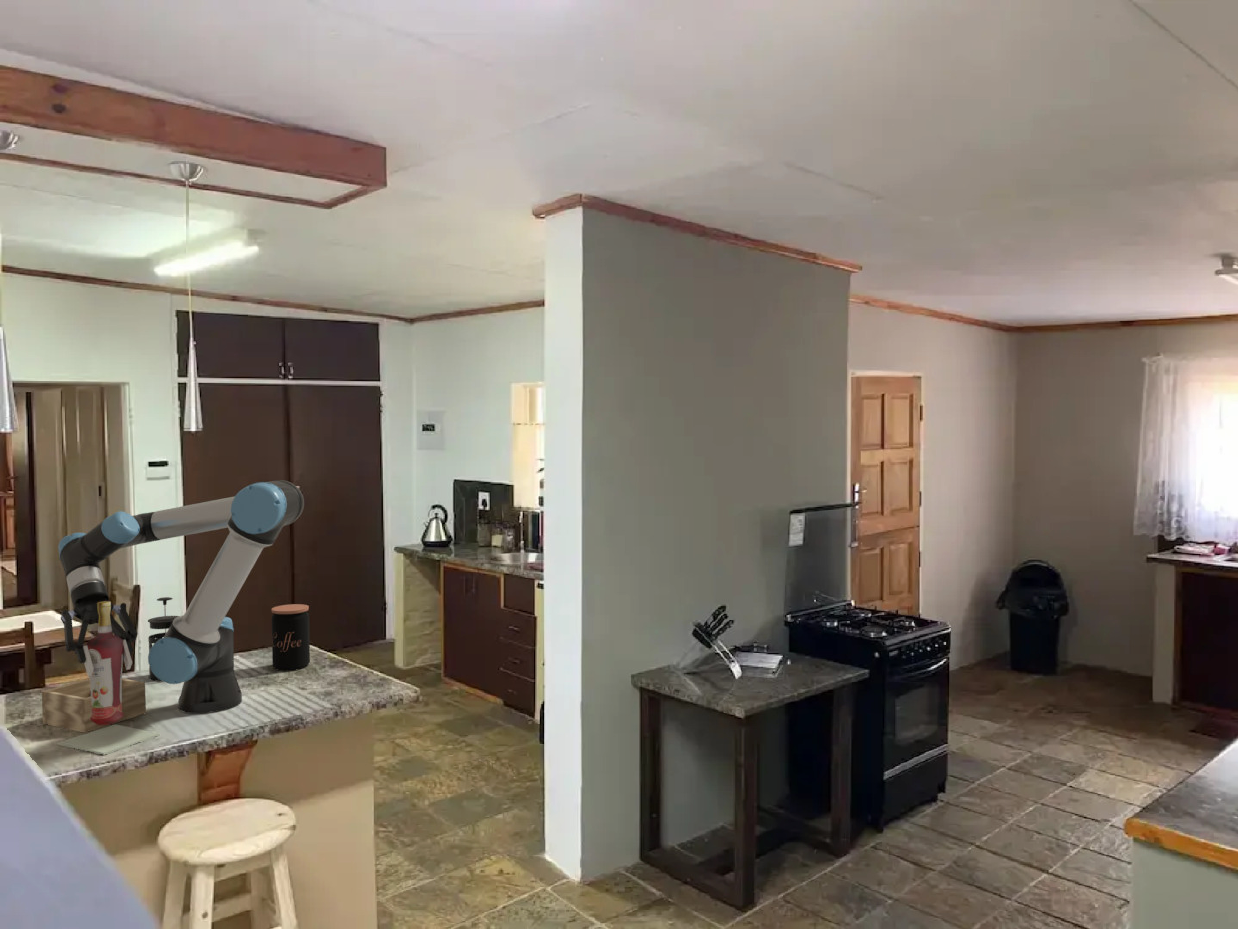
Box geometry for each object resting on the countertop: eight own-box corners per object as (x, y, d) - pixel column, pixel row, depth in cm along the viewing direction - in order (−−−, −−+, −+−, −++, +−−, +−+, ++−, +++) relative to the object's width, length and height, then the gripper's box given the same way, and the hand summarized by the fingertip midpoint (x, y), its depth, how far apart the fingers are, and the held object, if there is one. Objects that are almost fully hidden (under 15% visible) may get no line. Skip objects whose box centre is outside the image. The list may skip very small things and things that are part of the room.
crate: (145, 713, 231) (145, 682, 230) (85, 732, 216) (84, 699, 216) (104, 705, 238) (103, 675, 237) (42, 723, 223) (41, 691, 223)
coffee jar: (265, 670, 271) (264, 610, 270) (284, 661, 281) (283, 603, 280) (298, 672, 269) (297, 611, 268) (316, 662, 279) (315, 604, 279)
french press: (142, 676, 265) (139, 598, 264) (175, 669, 272) (173, 593, 271) (159, 683, 258) (157, 603, 256) (192, 676, 265) (190, 598, 264)
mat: (159, 735, 214) (159, 733, 214) (104, 755, 201) (103, 753, 201) (114, 726, 221) (114, 724, 221) (57, 744, 208) (57, 742, 208)
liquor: (132, 718, 213) (129, 600, 212) (106, 728, 206) (103, 606, 205) (108, 715, 216) (104, 598, 214) (81, 725, 209) (77, 604, 207)
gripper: (130, 594, 228) (154, 670, 217) (36, 605, 214) (57, 687, 203) (136, 575, 224) (161, 652, 213) (41, 585, 210) (62, 668, 199)
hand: (110, 669), depth 208 cm, fingers closed on liquor, 7 cm apart
